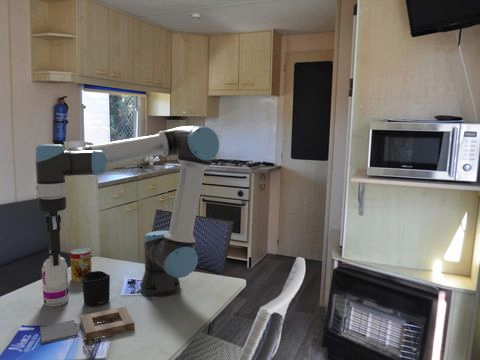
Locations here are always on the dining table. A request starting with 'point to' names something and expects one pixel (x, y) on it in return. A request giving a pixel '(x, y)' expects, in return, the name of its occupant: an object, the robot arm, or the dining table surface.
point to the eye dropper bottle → (55, 279)
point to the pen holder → (96, 288)
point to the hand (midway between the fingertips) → (55, 272)
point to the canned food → (80, 263)
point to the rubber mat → (58, 331)
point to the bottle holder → (110, 328)
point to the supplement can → (55, 291)
